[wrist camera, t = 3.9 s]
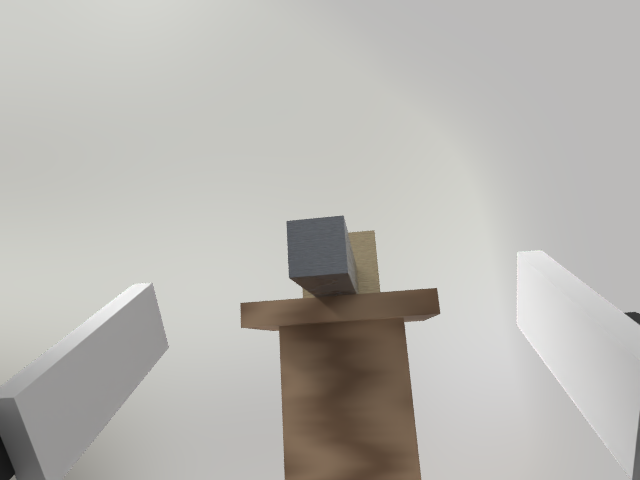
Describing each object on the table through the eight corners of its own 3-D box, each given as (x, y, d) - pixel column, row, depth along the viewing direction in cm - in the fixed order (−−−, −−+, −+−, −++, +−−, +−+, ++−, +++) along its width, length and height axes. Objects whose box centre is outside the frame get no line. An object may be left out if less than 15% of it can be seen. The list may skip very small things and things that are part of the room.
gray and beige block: (254, 280, 18) (251, 171, 19) (311, 309, 34) (308, 248, 35) (384, 269, 17) (373, 158, 18) (380, 304, 33) (374, 242, 34)
